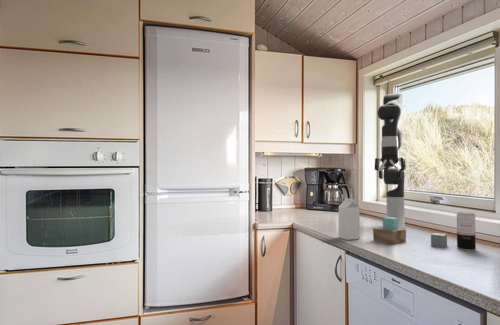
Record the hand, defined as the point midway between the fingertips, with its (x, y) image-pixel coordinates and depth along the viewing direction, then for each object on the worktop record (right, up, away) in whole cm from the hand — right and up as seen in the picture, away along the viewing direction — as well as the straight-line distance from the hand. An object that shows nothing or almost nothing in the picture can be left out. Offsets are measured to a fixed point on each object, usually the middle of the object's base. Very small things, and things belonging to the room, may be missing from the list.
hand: (389, 179), depth 171 cm
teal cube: (-4, -22, -10) cm, 25 cm away
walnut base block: (-4, -28, -11) cm, 31 cm away
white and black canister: (+21, -28, -26) cm, 44 cm away
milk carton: (-21, -28, -4) cm, 35 cm away
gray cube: (+13, -28, -20) cm, 37 cm away
